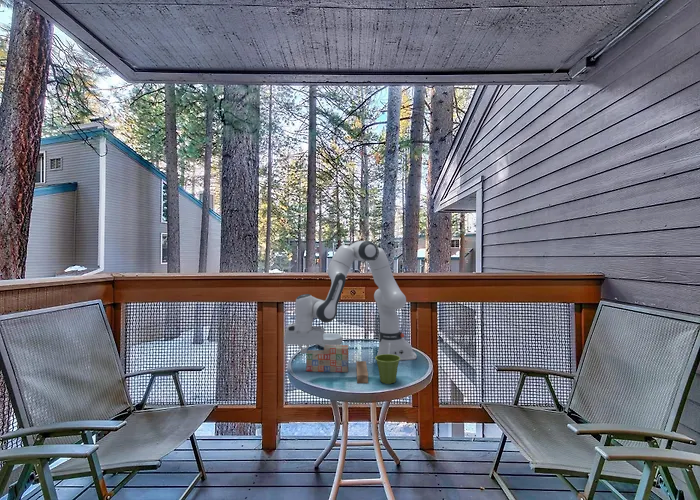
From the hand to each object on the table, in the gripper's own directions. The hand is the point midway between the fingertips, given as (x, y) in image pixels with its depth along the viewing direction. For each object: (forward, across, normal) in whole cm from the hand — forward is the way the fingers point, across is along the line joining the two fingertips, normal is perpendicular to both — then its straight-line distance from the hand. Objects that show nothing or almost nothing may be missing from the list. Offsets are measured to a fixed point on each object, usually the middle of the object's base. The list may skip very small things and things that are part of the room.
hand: (304, 352), depth 183 cm
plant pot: (+9, -41, +15) cm, 45 cm away
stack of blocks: (+9, -12, 0) cm, 15 cm away
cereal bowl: (+9, -10, -41) cm, 43 cm away
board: (+9, -29, +7) cm, 32 cm away
